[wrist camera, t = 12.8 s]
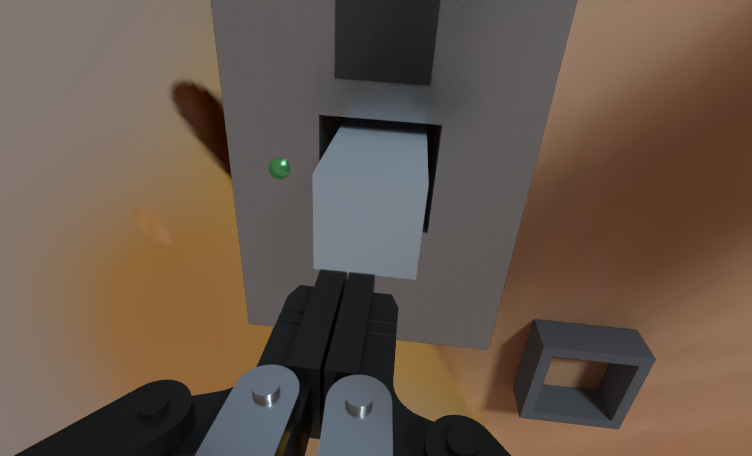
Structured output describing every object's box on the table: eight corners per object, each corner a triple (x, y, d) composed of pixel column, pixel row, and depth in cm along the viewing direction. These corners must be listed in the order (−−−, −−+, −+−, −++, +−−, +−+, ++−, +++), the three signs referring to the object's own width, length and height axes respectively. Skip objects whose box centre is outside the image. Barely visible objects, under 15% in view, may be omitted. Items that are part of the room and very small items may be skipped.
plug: (426, 116, 22) (428, 184, 14) (417, 186, 24) (415, 279, 16) (350, 109, 22) (312, 173, 15) (348, 179, 24) (313, 268, 17)
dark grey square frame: (637, 330, 28) (655, 359, 26) (604, 398, 31) (618, 429, 29) (534, 319, 28) (543, 347, 26) (512, 387, 31) (519, 417, 29)
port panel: (563, -63, 18) (597, -76, 14) (479, 305, 28) (488, 351, 24) (240, -82, 19) (197, -99, 15) (269, 283, 29) (248, 325, 25)
